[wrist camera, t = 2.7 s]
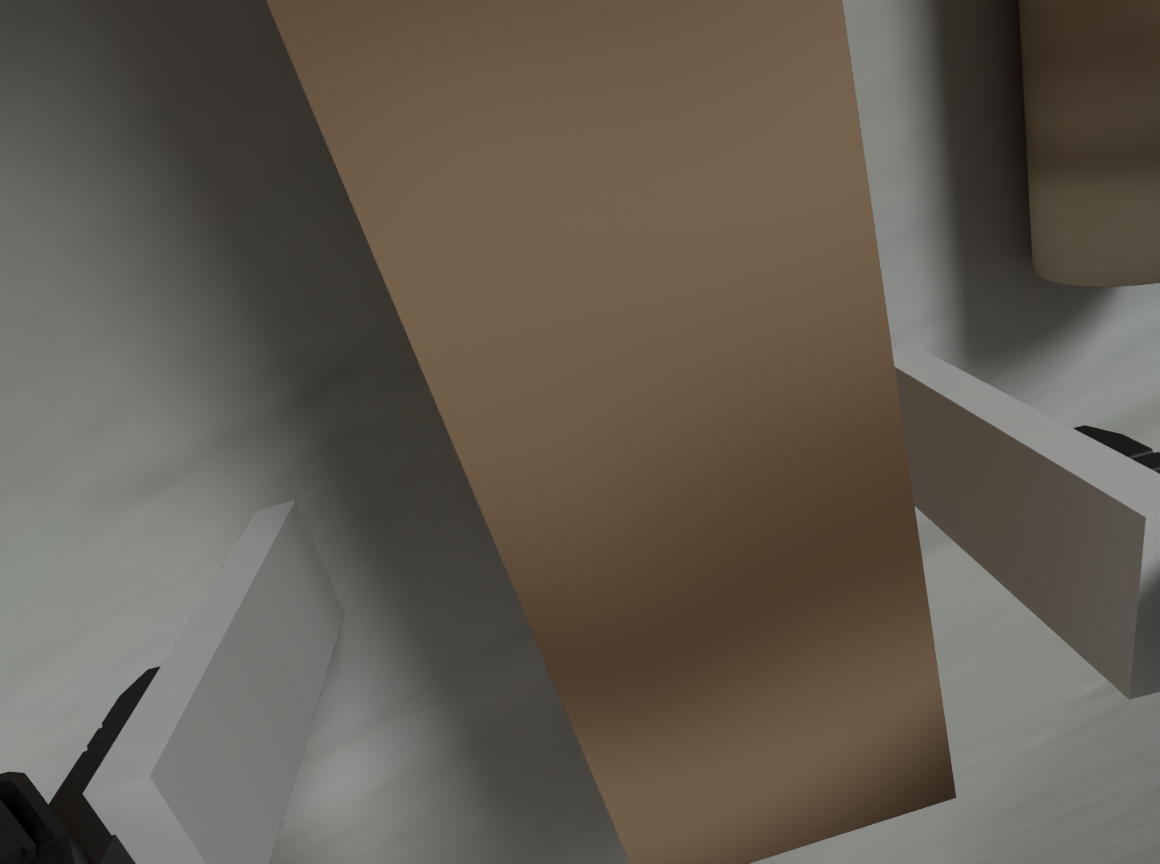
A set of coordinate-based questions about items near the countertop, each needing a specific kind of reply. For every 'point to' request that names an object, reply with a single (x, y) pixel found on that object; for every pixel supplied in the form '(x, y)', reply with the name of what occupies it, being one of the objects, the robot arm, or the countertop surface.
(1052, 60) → the dowel
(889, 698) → the natural wood brick
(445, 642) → the countertop surface
